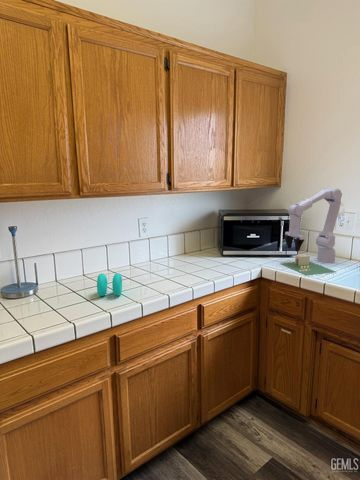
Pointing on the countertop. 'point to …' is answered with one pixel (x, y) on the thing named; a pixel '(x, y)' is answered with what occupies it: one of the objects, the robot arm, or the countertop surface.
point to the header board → (308, 268)
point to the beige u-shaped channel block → (302, 259)
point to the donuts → (103, 284)
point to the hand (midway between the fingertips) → (293, 249)
